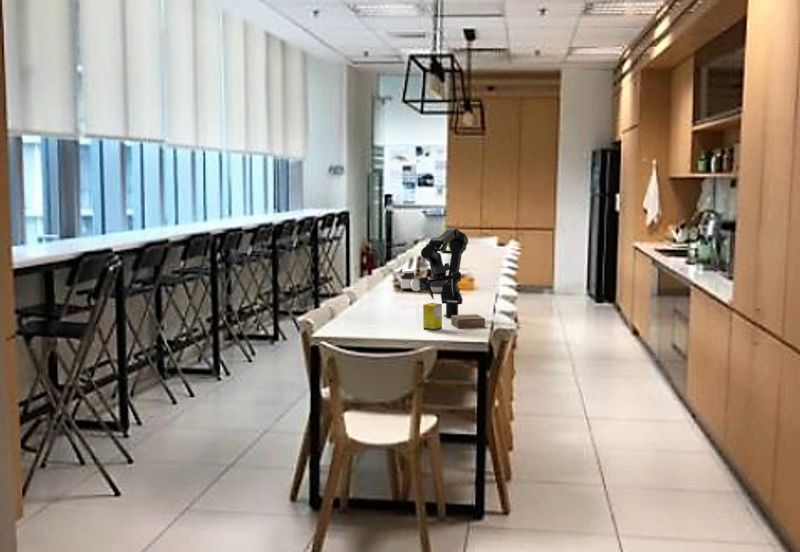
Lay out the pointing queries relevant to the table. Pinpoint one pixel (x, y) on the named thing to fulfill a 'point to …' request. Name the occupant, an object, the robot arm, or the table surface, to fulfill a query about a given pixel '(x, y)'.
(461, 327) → the walnut plinth
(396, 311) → the table surface
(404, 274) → the spread jar
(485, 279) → the table surface
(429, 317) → the supplement box
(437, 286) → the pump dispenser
